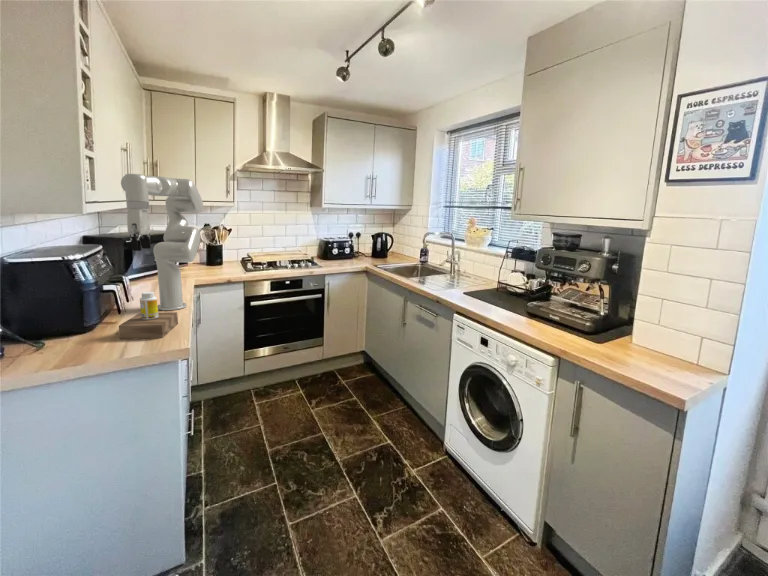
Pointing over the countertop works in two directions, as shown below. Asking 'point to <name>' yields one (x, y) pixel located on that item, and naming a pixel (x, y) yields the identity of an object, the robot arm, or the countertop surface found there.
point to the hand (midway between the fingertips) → (141, 249)
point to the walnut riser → (148, 326)
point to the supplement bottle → (148, 306)
